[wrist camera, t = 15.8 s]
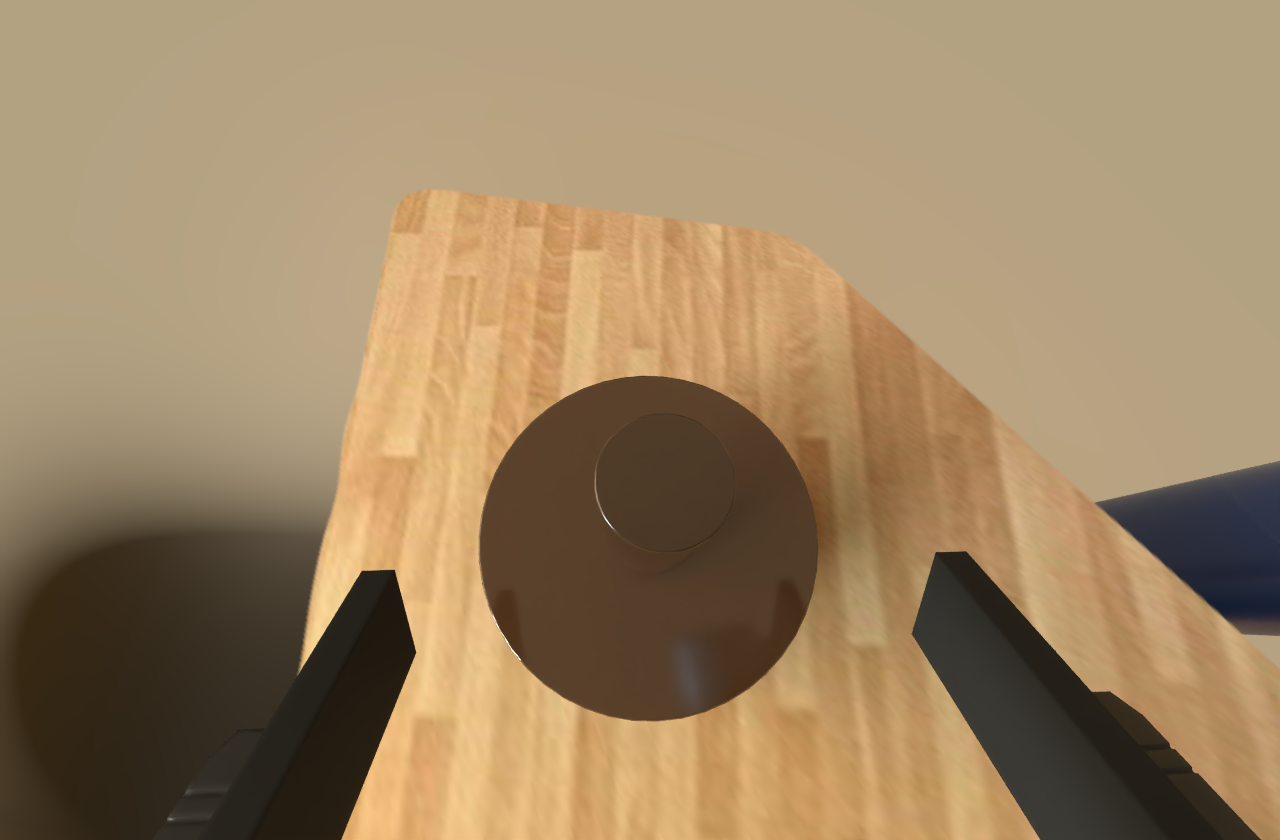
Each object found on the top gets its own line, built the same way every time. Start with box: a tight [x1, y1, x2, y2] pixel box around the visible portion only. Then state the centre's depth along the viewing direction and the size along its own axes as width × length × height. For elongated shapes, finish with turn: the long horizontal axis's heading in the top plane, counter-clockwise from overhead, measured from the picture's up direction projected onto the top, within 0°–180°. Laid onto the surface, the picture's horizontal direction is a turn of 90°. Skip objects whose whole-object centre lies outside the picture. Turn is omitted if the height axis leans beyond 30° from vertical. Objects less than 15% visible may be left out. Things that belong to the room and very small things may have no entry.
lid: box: [479, 376, 818, 721], centre depth 17 cm, size 13×13×10 cm
